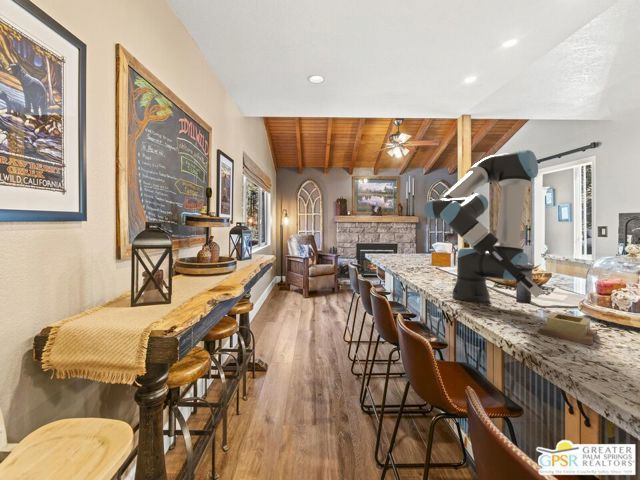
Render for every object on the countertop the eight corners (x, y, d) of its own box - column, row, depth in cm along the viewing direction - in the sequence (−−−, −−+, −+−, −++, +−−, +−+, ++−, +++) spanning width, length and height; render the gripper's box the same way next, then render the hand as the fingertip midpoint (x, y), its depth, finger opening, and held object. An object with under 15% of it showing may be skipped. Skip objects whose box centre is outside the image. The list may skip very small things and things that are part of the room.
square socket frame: (552, 322, 100) (553, 312, 100) (589, 330, 93) (590, 318, 93) (546, 329, 94) (546, 317, 94) (585, 337, 87) (585, 324, 87)
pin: (517, 299, 103) (518, 263, 102) (534, 302, 99) (535, 264, 99) (512, 301, 100) (513, 264, 99) (530, 304, 96) (531, 266, 95)
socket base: (548, 325, 102) (548, 320, 102) (596, 335, 93) (597, 330, 93) (538, 333, 94) (539, 328, 94) (590, 345, 85) (591, 339, 85)
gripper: (472, 245, 113) (524, 294, 106) (470, 249, 98) (531, 307, 91) (489, 230, 110) (544, 280, 104) (490, 232, 95) (555, 291, 89)
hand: (538, 293), depth 97 cm, fingers closed on pin, 4 cm apart
